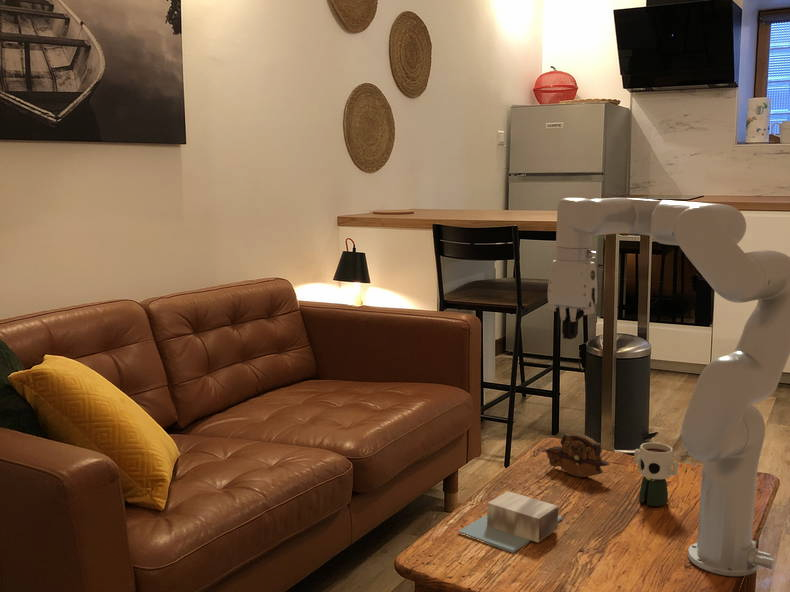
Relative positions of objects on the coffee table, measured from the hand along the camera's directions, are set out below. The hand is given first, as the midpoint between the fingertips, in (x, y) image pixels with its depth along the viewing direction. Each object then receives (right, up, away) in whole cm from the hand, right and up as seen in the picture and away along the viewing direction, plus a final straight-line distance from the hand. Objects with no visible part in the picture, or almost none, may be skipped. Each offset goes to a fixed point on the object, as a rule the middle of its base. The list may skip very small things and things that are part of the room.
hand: (569, 337), depth 180 cm
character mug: (+19, -37, +3) cm, 42 cm away
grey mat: (-14, -39, -9) cm, 42 cm away
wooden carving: (+6, -35, +20) cm, 40 cm away
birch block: (-7, -37, -15) cm, 41 cm away
